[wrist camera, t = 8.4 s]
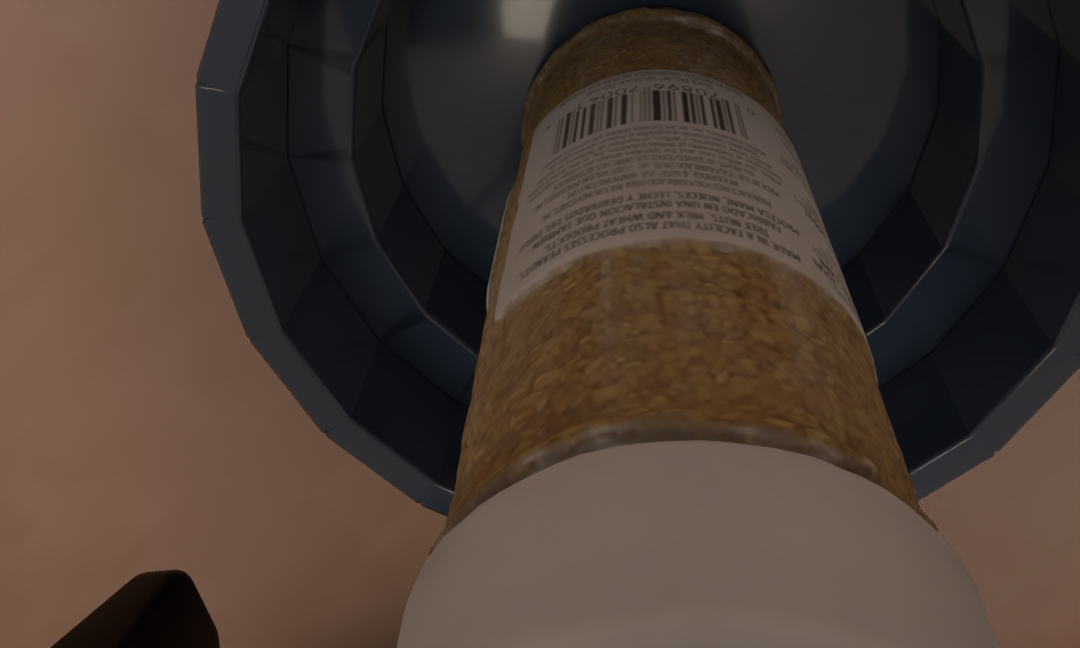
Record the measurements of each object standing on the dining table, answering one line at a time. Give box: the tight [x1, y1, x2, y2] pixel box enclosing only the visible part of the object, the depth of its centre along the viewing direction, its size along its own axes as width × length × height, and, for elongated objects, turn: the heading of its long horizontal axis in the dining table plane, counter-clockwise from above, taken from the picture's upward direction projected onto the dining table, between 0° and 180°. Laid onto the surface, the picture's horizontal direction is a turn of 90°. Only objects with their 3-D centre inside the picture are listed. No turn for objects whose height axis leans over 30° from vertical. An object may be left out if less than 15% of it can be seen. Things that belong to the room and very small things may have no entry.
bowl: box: [195, 0, 1080, 516], centre depth 16 cm, size 13×13×5 cm
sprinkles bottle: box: [396, 7, 1000, 648], centre depth 12 cm, size 5×5×14 cm
